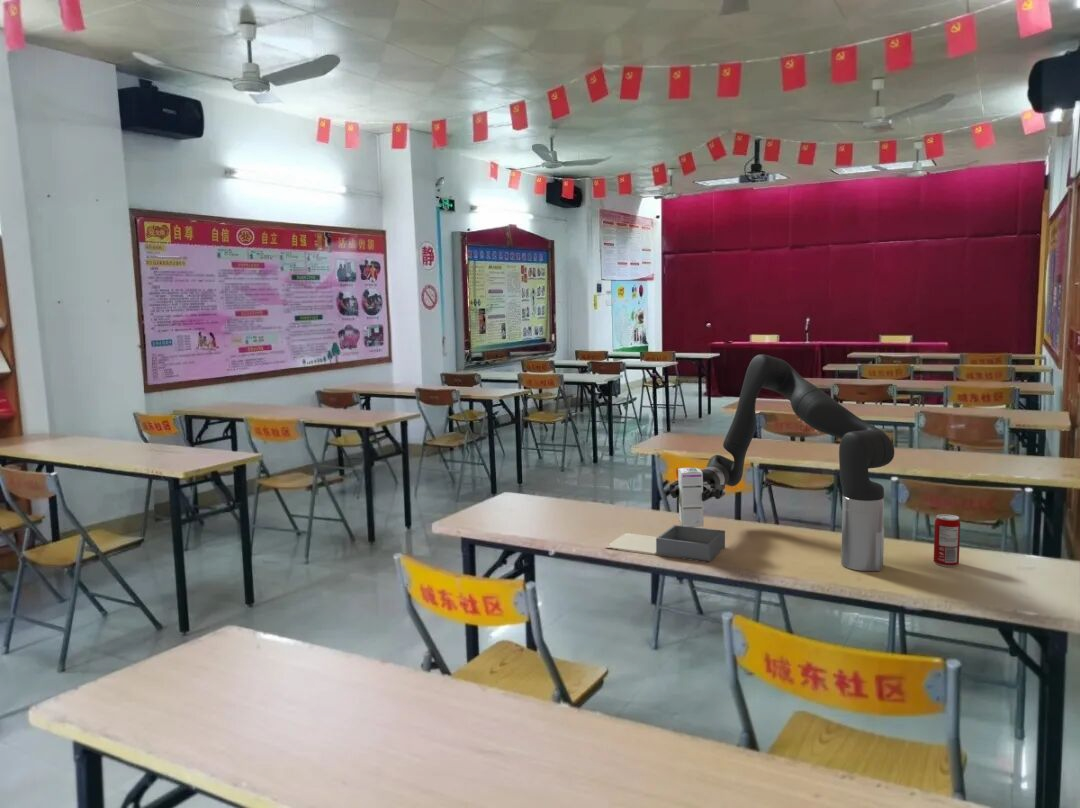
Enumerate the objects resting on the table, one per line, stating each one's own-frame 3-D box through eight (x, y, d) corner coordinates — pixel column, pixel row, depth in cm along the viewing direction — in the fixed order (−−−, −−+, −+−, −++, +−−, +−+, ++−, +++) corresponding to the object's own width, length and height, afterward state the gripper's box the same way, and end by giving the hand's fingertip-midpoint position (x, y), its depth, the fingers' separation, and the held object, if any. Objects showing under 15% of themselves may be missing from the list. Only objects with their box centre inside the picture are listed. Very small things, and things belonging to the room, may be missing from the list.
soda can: (946, 559, 195) (947, 511, 194) (964, 565, 190) (966, 517, 188) (928, 561, 193) (929, 514, 192) (945, 568, 188) (947, 519, 187)
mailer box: (724, 547, 209) (725, 530, 208) (709, 562, 197) (709, 544, 196) (625, 534, 223) (625, 519, 222) (605, 548, 211) (605, 531, 210)
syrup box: (704, 526, 203) (704, 471, 201) (681, 527, 203) (681, 472, 201) (700, 520, 209) (700, 467, 207) (677, 521, 209) (677, 467, 207)
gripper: (682, 466, 220) (661, 479, 206) (733, 471, 213) (715, 484, 199) (682, 492, 221) (661, 507, 207) (733, 498, 214) (715, 513, 200)
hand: (688, 495), depth 203 cm, fingers closed on syrup box, 7 cm apart
